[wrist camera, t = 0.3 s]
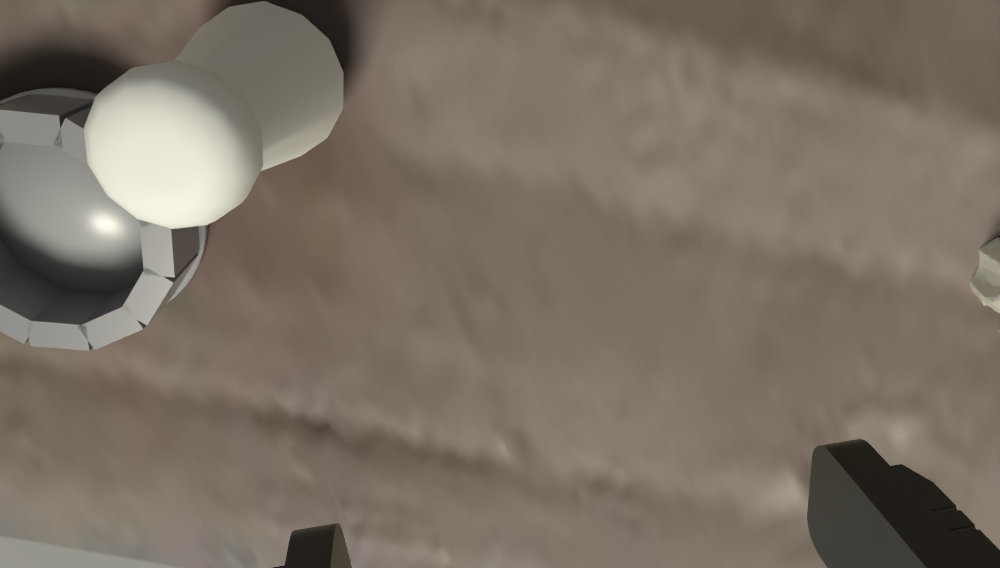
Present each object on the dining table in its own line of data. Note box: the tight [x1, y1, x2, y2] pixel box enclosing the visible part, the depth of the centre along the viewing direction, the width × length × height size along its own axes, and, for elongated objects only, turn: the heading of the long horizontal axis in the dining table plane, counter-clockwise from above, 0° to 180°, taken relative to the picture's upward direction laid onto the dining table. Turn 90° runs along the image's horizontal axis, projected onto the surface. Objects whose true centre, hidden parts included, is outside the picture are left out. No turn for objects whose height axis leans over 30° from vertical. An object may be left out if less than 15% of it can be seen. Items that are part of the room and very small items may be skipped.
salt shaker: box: [84, 1, 344, 229], centre depth 25 cm, size 6×6×13 cm
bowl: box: [0, 87, 208, 351], centre depth 31 cm, size 10×10×4 cm
